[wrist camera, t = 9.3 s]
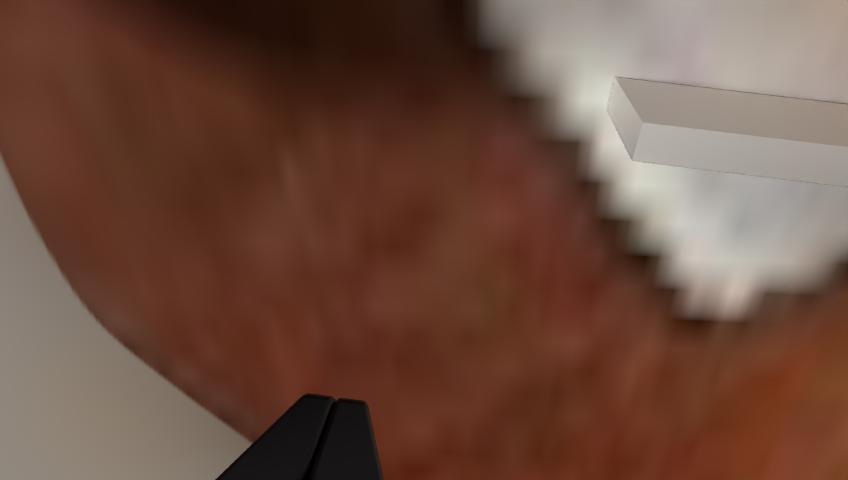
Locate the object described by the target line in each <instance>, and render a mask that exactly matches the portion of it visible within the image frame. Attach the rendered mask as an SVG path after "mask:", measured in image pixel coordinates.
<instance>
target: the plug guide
mask: <svg viewBox="0 0 848 480" xmlns="http://www.w3.org/2000/svg"><path fill="white" fill-rule="evenodd" d="M607 111H608V113H609V115H610V117H611V119H612V121H613V123H614V125H615V128H616V130H617V132H618V134H619V136H620V138H621V140H622V142H623V144H624V146H625V148H626V150H627V152H628V154H629V156H630V158H631V160H632V161H638V162H646V163H654V164H662V165H670V166H678V167H687V168H695V169H703V170H711V171H719V172H728V173H736V174H744V175H752V176H760V177H768V178H777V179H785V180H793V181H801V182H809V183H818V184H826V185H834V186H842V187H848V104H840V103H831V102H823V101H814V100H806V99H797V98H789V97H780V96H772V95H763V94H755V93H746V92H738V91H729V90H721V89H712V88H704V87H695V86H687V85H678V84H670V83H661V82H653V81H644V80H636V79H627V78H619V77H615V78H614V82H613V86H612V90H611V94H610V98H609V102H608V106H607Z"/></svg>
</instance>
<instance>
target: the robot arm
mask: <svg viewBox="0 0 848 480" xmlns="http://www.w3.org/2000/svg"><path fill="white" fill-rule="evenodd" d="M216 480H383V475H382V470H381V465H380V460H379V456H378V451H377V446H376V441H375V437H374V432H373V427H372V422H371V417H370V413H369V408H368V405H367V403H366V402H365V401H361V400H354V399H347V398H339V399H337V401H335V399H334V398H333V397H331V396H325V395H318V394H310V393H308V394H305V395H303V396H302V397H301V398H300V399H299V400H298V401H296V402H295V403H294V404H293V405H292V406H291V407H290V408H289V409H288V410H287V411H286V412H285V413H284V414H283V415H282V416H281V417H280V418H279V419H278V420H277V421H276V422H275V423H274V424H273V425H272V426H271V427H270V428H268V429H267V430H266V431H265V432H264V433H263V434H262V435H261V436H260V437H259V438H258V439H257V440H256V441H255V442H254V443H253V444H252V445H251V446H250V447H249V448H248V449H247V450H246V451H245V452H244V453H243V454H241V455H240V457H239V458H237V459H236V460H235V461H234V462H233V463H232V464H231V465H230V466H229V467H228V468H227V469H226V470H225V471H224V472H223V473H222V474H221V475H220V476H219V477H218V478H217V479H216Z"/></svg>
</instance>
